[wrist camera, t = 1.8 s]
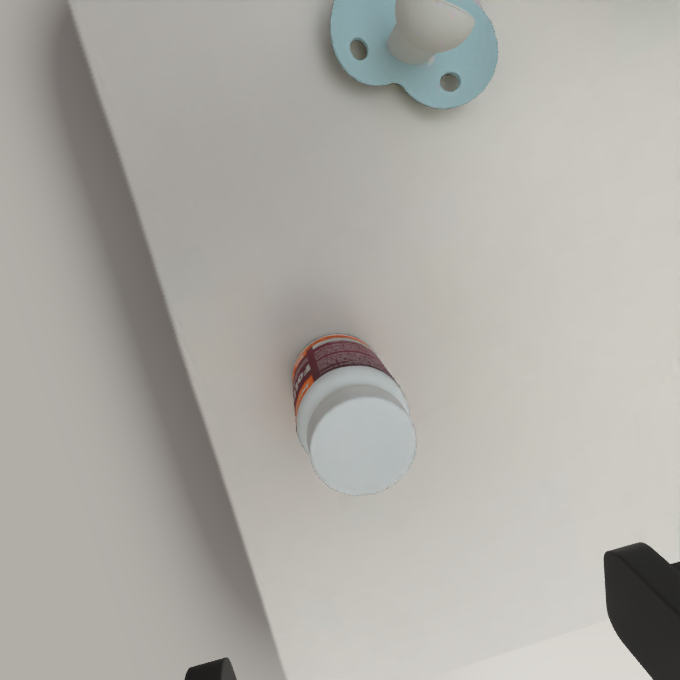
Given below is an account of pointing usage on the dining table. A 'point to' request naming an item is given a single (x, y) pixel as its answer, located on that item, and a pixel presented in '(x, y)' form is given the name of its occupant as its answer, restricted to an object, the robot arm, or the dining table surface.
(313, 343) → the pill bottle
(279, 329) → the dining table surface
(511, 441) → the dining table surface
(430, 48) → the pacifier
